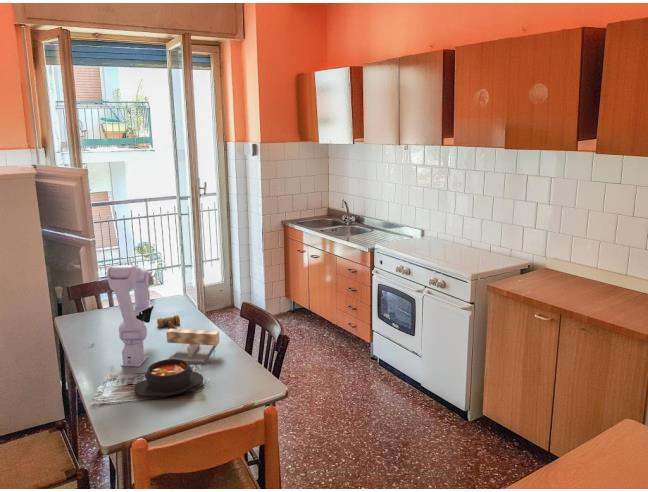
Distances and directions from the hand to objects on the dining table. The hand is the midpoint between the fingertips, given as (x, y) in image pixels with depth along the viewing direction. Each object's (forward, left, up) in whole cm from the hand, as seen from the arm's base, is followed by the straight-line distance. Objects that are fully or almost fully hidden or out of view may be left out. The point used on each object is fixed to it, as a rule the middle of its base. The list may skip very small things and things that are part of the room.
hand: (143, 325), depth 238 cm
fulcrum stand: (-7, -24, -9) cm, 27 cm away
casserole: (-38, -24, -10) cm, 46 cm away
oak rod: (-7, -24, -4) cm, 25 cm away
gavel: (+19, -6, -10) cm, 22 cm away
